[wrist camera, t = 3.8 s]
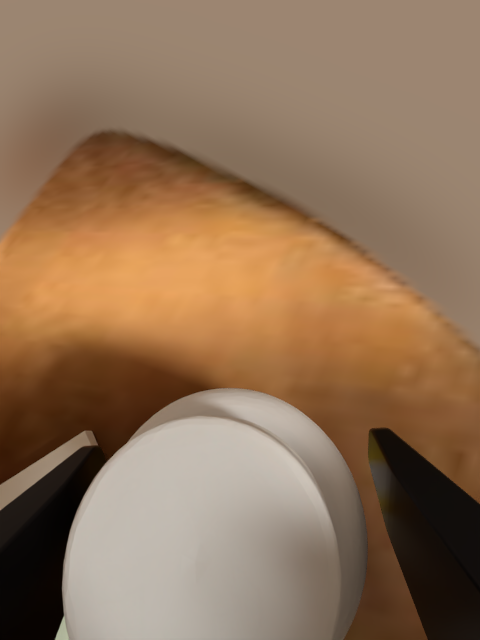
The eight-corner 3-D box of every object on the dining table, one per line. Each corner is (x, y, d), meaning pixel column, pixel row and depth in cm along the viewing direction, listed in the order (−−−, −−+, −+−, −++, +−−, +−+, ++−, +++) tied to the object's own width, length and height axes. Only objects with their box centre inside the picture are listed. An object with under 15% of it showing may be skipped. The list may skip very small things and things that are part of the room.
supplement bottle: (188, 422, 15) (28, 382, 6) (313, 407, 15) (357, 339, 5) (195, 570, 13) (-31, 867, 4) (339, 559, 13) (478, 866, 3)
